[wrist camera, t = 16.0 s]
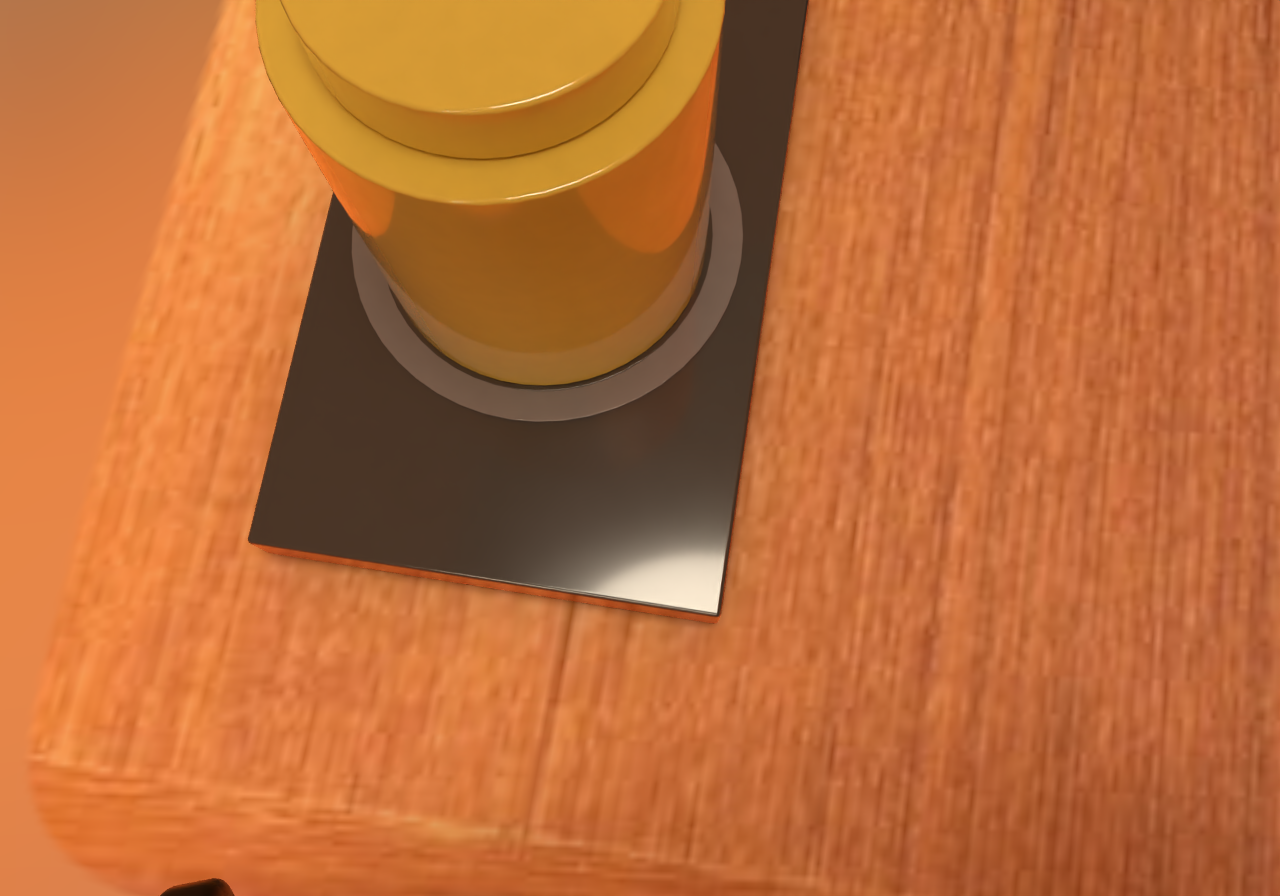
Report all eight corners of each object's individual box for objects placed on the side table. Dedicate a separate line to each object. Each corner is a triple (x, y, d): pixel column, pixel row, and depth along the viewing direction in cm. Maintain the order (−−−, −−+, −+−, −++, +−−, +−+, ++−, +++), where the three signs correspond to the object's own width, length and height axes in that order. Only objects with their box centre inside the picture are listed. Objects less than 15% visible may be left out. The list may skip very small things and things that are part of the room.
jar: (759, 311, 23) (815, 42, 14) (452, 436, 23) (318, 237, 14) (632, 45, 25) (612, -345, 16) (341, 157, 24) (157, -182, 15)
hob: (717, 624, 23) (720, 616, 22) (266, 553, 23) (242, 541, 22) (808, -4, 26) (815, -42, 25) (412, -53, 27) (399, -94, 26)
